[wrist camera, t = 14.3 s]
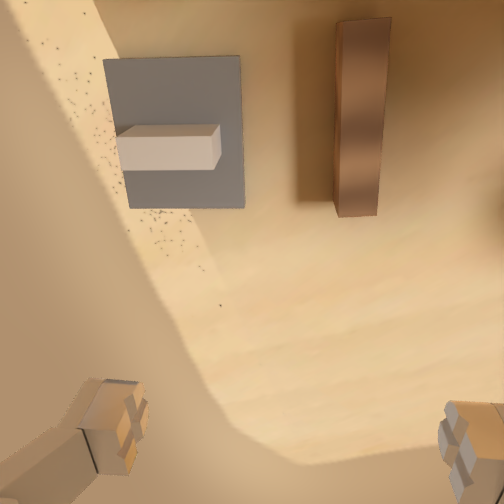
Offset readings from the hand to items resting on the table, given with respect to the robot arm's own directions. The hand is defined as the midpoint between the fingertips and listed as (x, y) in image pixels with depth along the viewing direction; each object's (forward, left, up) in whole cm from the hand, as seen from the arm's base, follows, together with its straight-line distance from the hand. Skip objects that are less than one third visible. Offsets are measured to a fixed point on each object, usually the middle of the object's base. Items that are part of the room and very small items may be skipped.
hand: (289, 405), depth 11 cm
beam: (-7, -2, -32) cm, 33 cm away
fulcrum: (+10, 0, -32) cm, 33 cm away
